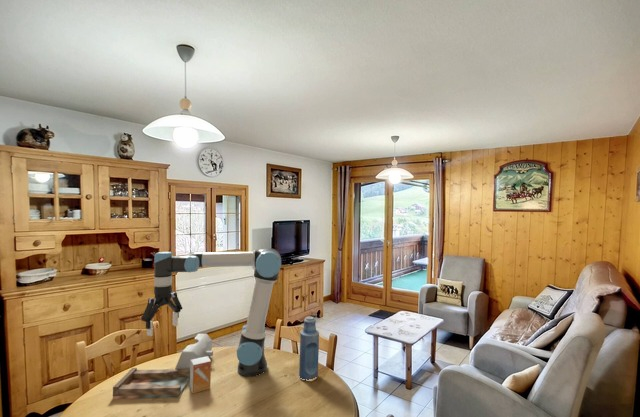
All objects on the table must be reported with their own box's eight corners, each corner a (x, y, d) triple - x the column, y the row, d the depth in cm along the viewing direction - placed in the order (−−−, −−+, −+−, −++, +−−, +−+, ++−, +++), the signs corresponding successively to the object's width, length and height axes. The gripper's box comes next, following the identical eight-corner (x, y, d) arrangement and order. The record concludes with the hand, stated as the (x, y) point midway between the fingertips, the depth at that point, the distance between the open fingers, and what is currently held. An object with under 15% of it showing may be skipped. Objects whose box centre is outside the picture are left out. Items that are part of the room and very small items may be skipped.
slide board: (191, 377, 159) (191, 366, 159) (179, 397, 142) (179, 385, 142) (132, 378, 156) (132, 367, 157) (112, 398, 140) (113, 386, 140)
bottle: (314, 371, 168) (315, 313, 168) (320, 380, 158) (322, 319, 159) (296, 373, 165) (298, 315, 165) (301, 383, 155) (303, 321, 156)
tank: (204, 377, 160) (205, 352, 160) (171, 377, 159) (172, 351, 159) (218, 354, 185) (219, 333, 185) (190, 354, 184) (191, 332, 184)
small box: (192, 394, 145) (193, 365, 145) (189, 387, 150) (190, 359, 150) (210, 389, 149) (211, 360, 149) (207, 382, 154) (207, 355, 154)
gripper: (179, 279, 164) (179, 320, 164) (132, 290, 141) (132, 338, 141) (190, 280, 161) (189, 323, 160) (143, 292, 138) (143, 341, 138)
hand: (163, 330), depth 151 cm, fingers open, 13 cm apart
